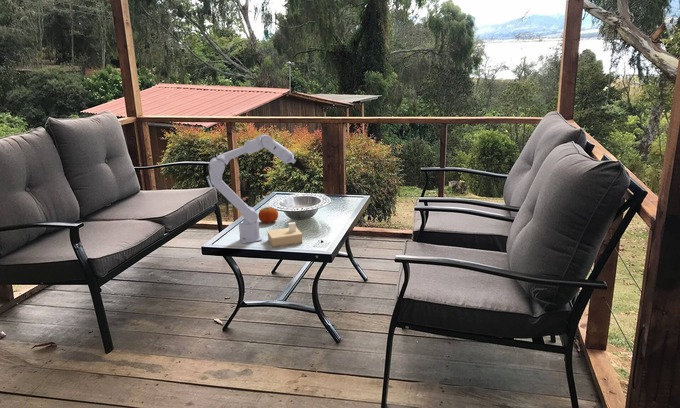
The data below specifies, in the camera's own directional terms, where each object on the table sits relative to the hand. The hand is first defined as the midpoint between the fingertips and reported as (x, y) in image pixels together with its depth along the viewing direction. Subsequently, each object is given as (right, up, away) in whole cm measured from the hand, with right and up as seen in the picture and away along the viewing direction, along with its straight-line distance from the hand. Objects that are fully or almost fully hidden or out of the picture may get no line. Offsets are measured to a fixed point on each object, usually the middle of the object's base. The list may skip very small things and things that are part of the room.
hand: (303, 168), depth 247 cm
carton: (-8, -35, -5) cm, 36 cm away
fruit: (-21, -27, +28) cm, 44 cm away
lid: (-8, -31, -6) cm, 33 cm away
